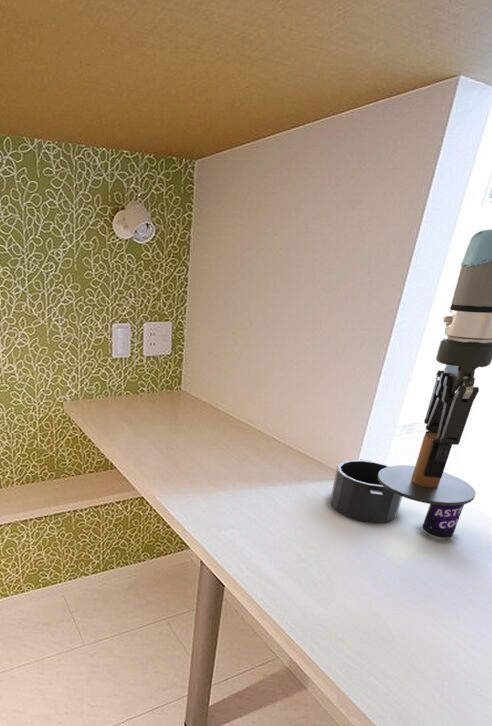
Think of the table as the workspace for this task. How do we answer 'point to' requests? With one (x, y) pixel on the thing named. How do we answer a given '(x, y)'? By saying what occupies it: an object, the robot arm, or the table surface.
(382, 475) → the tin lid
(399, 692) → the table surface
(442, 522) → the beverage can
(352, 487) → the tin
